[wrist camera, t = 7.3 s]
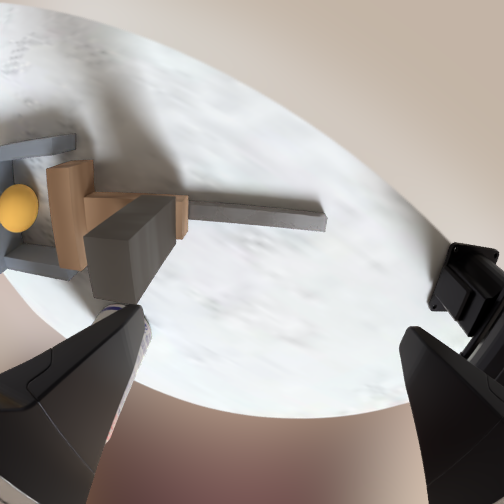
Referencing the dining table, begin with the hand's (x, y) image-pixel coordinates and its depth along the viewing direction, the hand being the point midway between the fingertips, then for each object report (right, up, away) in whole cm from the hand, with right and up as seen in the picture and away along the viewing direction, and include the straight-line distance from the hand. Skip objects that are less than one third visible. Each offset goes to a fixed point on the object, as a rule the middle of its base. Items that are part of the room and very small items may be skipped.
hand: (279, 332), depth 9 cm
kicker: (-9, +5, +10) cm, 15 cm away
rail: (-1, +5, +11) cm, 12 cm away
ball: (-20, +6, +9) cm, 23 cm away
